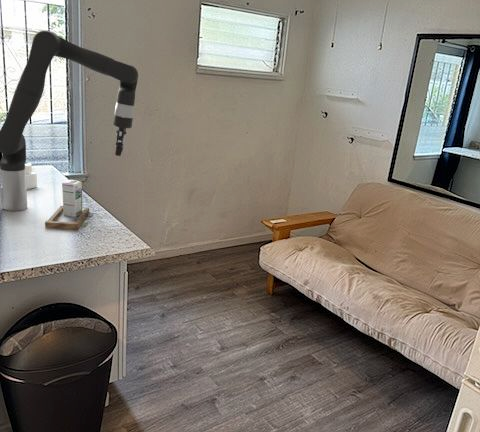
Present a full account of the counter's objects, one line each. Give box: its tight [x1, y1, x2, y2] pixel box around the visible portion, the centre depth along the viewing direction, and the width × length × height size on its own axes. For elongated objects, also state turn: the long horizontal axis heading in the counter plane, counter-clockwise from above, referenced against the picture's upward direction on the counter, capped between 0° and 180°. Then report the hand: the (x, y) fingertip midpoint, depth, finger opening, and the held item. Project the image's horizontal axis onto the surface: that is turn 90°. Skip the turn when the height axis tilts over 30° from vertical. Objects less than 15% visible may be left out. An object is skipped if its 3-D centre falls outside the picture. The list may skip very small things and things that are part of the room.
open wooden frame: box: [44, 205, 94, 231], centre depth 183 cm, size 14×22×2 cm, turn 6°
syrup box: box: [61, 179, 83, 218], centre depth 187 cm, size 6×6×14 cm
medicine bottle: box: [25, 161, 38, 191], centre depth 214 cm, size 7×7×12 cm
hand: (118, 153), depth 186 cm, fingers open, 8 cm apart
